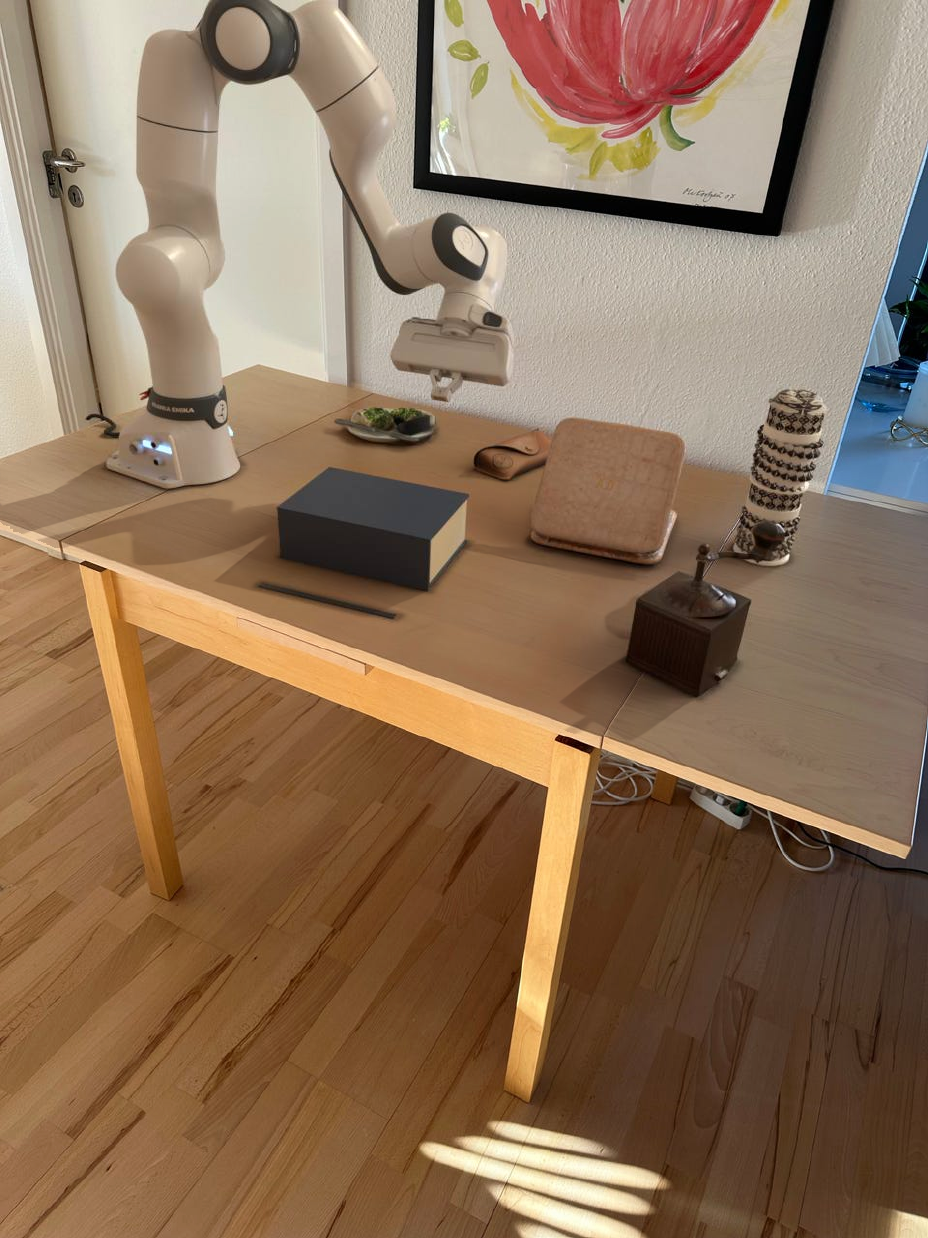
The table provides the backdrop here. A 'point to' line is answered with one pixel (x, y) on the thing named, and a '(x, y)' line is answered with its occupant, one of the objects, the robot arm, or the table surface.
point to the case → (608, 490)
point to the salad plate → (391, 425)
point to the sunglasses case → (513, 455)
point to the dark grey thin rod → (328, 600)
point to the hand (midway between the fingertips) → (439, 399)
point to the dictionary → (373, 527)
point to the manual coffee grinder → (695, 621)
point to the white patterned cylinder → (782, 468)
